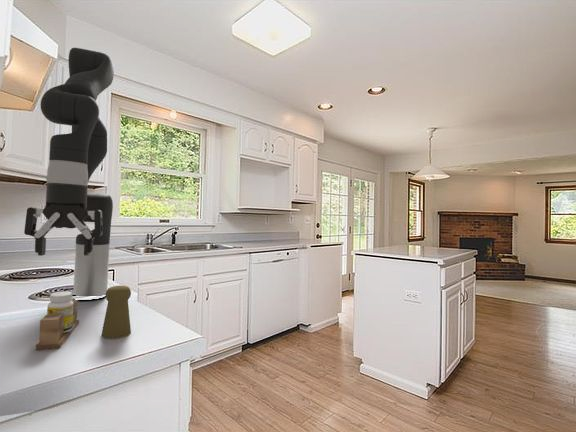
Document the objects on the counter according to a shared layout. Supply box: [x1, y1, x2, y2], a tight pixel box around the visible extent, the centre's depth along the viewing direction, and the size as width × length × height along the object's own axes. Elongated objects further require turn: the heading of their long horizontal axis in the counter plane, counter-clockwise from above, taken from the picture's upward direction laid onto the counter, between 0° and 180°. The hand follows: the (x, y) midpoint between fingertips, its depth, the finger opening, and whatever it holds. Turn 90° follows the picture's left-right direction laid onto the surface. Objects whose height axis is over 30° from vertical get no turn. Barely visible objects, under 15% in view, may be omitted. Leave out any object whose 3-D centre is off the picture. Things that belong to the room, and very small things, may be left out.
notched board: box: [35, 299, 80, 351], centre depth 71 cm, size 15×4×6 cm, turn 21°
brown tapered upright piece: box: [101, 285, 132, 340], centre depth 73 cm, size 6×6×11 cm
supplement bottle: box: [46, 291, 74, 333], centre depth 71 cm, size 5×5×8 cm
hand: (64, 255), depth 71 cm, fingers open, 8 cm apart
